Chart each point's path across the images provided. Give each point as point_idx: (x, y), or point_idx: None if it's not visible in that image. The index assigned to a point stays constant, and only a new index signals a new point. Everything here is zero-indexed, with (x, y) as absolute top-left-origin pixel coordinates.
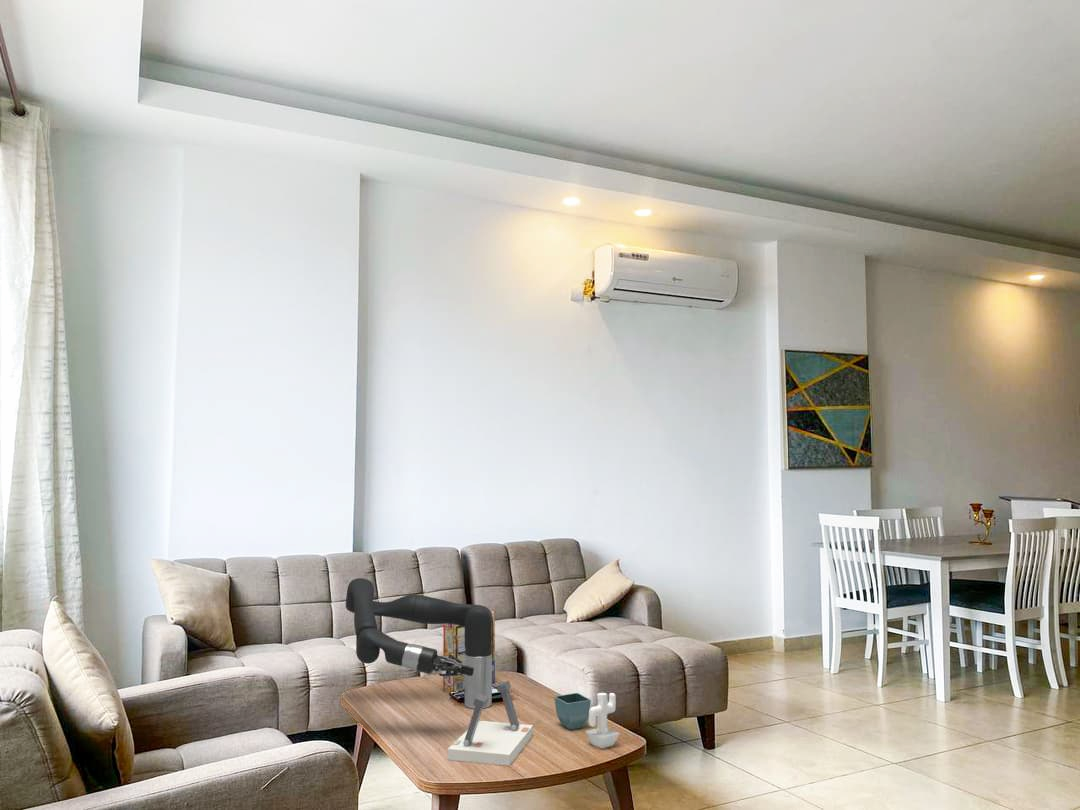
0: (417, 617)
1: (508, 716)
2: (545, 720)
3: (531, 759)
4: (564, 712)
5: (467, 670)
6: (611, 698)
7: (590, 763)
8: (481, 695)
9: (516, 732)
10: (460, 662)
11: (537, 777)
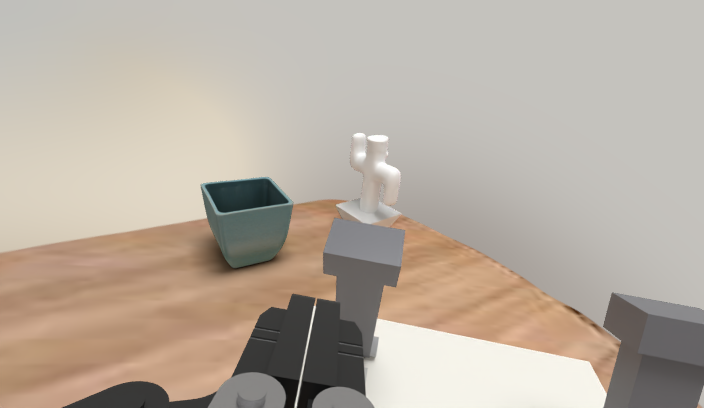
0: None
1: (373, 332)
2: (172, 297)
3: (496, 333)
4: (275, 230)
5: (360, 350)
6: (364, 143)
7: (465, 250)
8: (654, 310)
9: (384, 346)
10: (169, 405)
11: (595, 324)
